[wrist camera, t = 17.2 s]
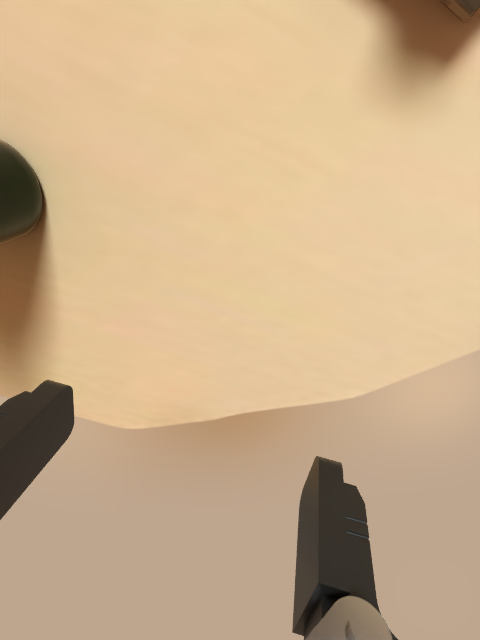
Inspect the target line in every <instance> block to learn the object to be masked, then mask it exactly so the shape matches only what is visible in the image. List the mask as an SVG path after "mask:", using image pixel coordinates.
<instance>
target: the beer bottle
mask: <svg viewBox="0 0 480 640" xmlns="http://www.w3.org/2000/svg"><path fill="white" fill-rule="evenodd" d="M41 212H42V193H41V188H40V185H39V182H38V179H37V177H36V175H35V173H34V171H33V169H32V168H31V166H30V165H29V163H28V162H27V160H26V159H25V158H24V157H23V156H22V155H21V154H20V153H19V152H18V151H17V150H15V149H14V148H13V147H12V146H10V145H9V144H7V143H6V142H4V141H2V140H0V244H2V243H5V242H8V241H11V240H14V239H17V238H19V237H22V236H24V235H26V234H28V233H29V232H31V231H32V230H33V229H34V227H35V226H36V225H37V223H38V221H39V219H40V216H41Z"/></svg>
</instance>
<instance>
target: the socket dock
mask: <svg viewBox="0 0 480 640" xmlns="http://www.w3.org/2000/svg"><path fill="white" fill-rule="evenodd" d="M440 1H441V2H442V3H443V4H444V5H446V6H447V7H448V8H449V9H450V10H451V11H452V12H453V13H454V14H455V15H456V16H457V17H458V18H459V19H460V20H462V21H463V22H466V21H467V20H468V19H469V18H471V17H472V16H473V14H474V13H475V12H476V11H477V9H478V8H479V7H480V0H440Z"/></svg>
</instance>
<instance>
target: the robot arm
mask: <svg viewBox="0 0 480 640" xmlns="http://www.w3.org/2000/svg"><path fill="white" fill-rule="evenodd" d="M73 425H74V405H73V389H72V387H71V386H68V385H65V384H61V383H58V382H54V381H50V380H46V381H44V382H43V383H41V384H40V385H39V386H38V387H37V388H36V389H35V390H34V391H33V392H31V393H30V392H27V391H25V392H23V393H21V394H19V395H16V396H14V397H12V398H10V399H8V400H7V401H6V402H4V403H3V404H2V405H1V406H0V520H1V518H2V517H3V516H4V515H5V514H6V513H7V511H8V510H9V509H10V508H11V506H12V505H13V504H14V503H15V502H16V500H17V499H18V498H19V497H20V496H21V494H22V493H23V492H24V491H25V490H26V488H27V487H28V486H29V485H30V484H31V482H32V481H33V480H34V479H35V478H36V476H37V475H38V474H39V473H40V471H41V470H42V469H43V468H44V467H45V465H46V464H47V463H48V462H49V461H50V459H51V458H52V457H53V456H54V455H55V453H56V452H57V451H58V450H59V449H60V447H61V446H62V445H63V444H64V443H65V441H66V440H67V439H68V437H69V435H70V434H71V431H72V429H73ZM368 539H369V533H368V526H367V517H366V509H365V503H364V501H363V499H362V497H361V495H360V493H359V491H358V489H357V487H356V486H353V485H350V484H347V483H344V482H343V469H342V464H341V463H340V462H336V461H333V460H329V459H326V458H322V457H318V456H316V458H315V460H314V462H313V465H312V467H311V470H310V472H309V475H308V478H307V480H306V482H305V485H304V488H303V491H302V495H301V500H300V507H299V522H298V541H297V559H296V577H295V596H294V597H295V598H294V613H293V633H296V634H299V635H302V636H304V640H398V639H397V638H396V637H395V636H394V635H393V634H392V633H391V631H390V630H389V628H388V626H387V624H386V622H385V620H384V618H383V617H382V615H381V613H380V611H379V608H378V604H377V599H376V590H375V583H374V575H373V566H372V558H371V550H370V541H369V540H368Z"/></svg>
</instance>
